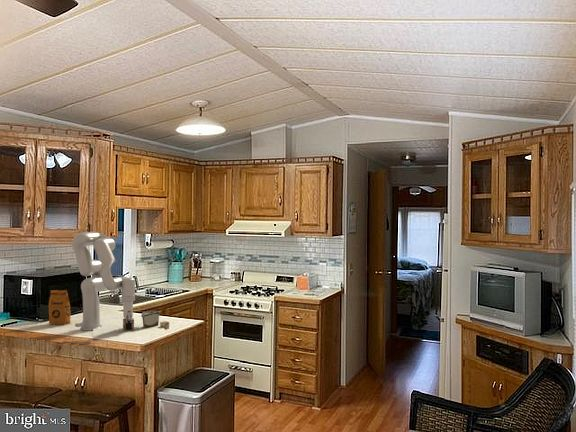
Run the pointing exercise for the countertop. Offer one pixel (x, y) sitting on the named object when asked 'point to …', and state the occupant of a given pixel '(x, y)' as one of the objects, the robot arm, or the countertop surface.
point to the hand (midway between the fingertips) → (128, 327)
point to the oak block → (164, 324)
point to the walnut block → (125, 324)
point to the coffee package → (59, 307)
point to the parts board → (129, 330)
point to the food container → (150, 318)
